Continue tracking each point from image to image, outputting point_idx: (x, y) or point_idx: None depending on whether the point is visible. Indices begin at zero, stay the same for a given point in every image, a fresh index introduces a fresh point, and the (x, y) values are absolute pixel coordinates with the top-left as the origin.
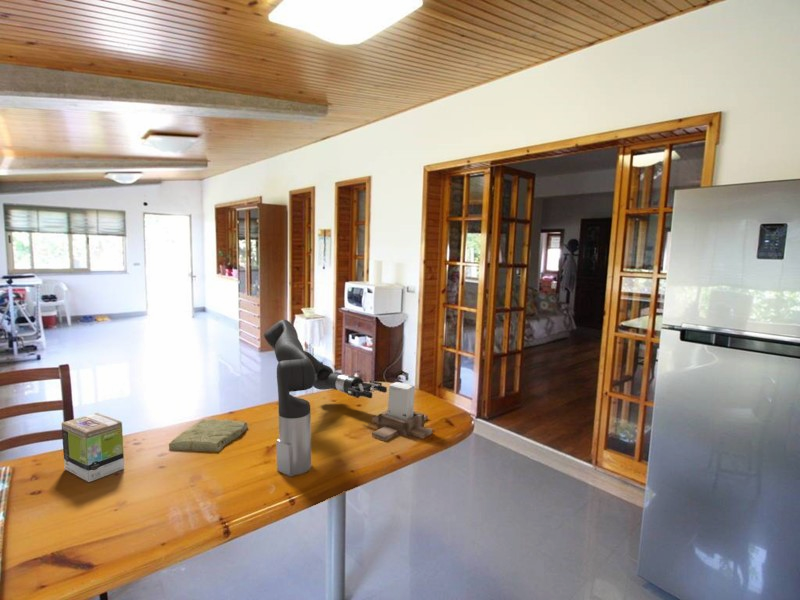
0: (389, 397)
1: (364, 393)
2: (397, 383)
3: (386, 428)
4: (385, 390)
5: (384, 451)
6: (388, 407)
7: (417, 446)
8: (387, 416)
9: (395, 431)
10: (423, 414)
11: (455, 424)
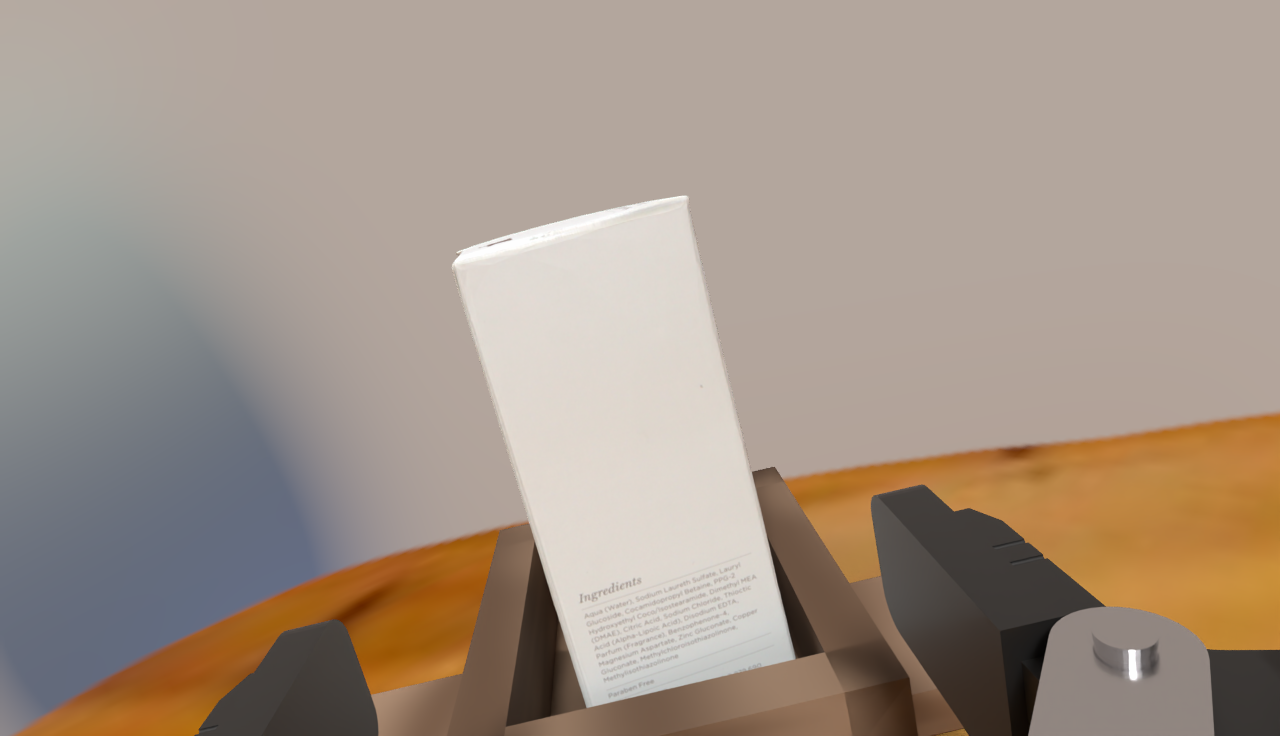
0: (729, 381)
1: (1080, 597)
2: (539, 228)
3: (902, 655)
4: (360, 682)
5: (1093, 494)
6: (763, 528)
7: (824, 488)
8: (827, 596)
9: (855, 585)
10: (506, 529)
11: (353, 595)
